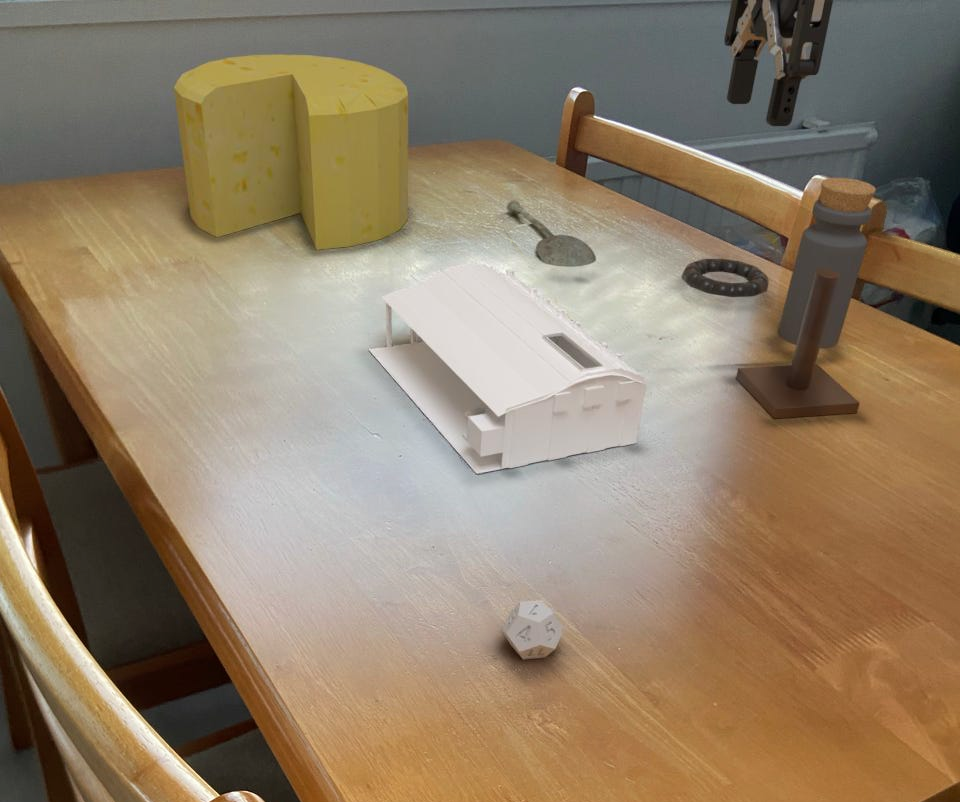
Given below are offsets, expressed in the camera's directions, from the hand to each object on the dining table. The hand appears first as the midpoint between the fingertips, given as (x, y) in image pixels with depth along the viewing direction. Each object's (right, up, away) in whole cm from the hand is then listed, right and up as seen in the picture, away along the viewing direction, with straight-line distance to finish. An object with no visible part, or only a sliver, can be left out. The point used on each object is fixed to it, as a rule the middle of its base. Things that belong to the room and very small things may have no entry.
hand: (757, 113), depth 94 cm
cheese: (-48, +3, +29) cm, 56 cm away
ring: (+1, -10, +15) cm, 18 cm away
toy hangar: (-25, -28, -6) cm, 38 cm away
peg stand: (+2, -27, -3) cm, 28 cm away
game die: (-23, -50, -32) cm, 64 cm away
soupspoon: (-19, -3, +25) cm, 31 cm away
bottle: (+6, -20, +5) cm, 22 cm away
